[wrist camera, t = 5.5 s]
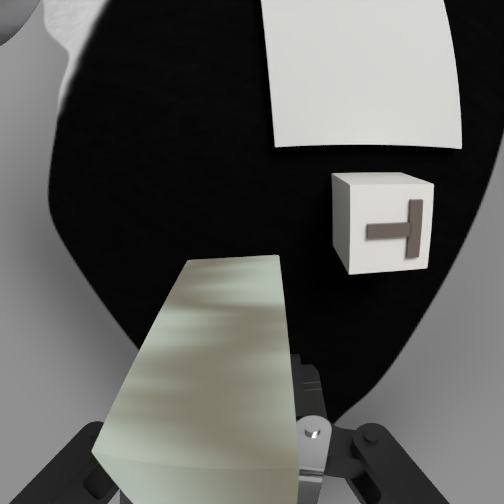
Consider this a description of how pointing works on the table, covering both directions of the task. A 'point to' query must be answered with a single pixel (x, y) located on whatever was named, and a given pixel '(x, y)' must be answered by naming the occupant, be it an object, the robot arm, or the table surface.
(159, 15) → the table surface
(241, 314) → the pale green rectangular block
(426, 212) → the letter cube
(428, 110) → the mat
